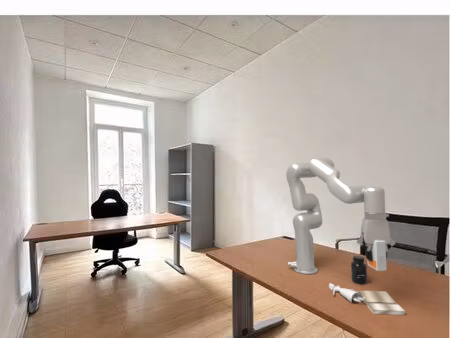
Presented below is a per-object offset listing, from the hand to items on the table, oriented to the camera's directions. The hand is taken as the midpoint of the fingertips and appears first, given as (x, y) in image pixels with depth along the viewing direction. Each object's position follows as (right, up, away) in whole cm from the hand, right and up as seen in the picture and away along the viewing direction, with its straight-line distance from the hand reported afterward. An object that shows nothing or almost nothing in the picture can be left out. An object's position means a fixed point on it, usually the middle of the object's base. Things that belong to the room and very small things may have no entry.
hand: (376, 259), depth 101 cm
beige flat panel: (0, -16, -1) cm, 16 cm away
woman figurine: (-11, -18, +4) cm, 22 cm away
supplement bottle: (+3, -18, +17) cm, 25 cm away
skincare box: (0, -4, 0) cm, 4 cm away
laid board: (-1, -17, -8) cm, 18 cm away
